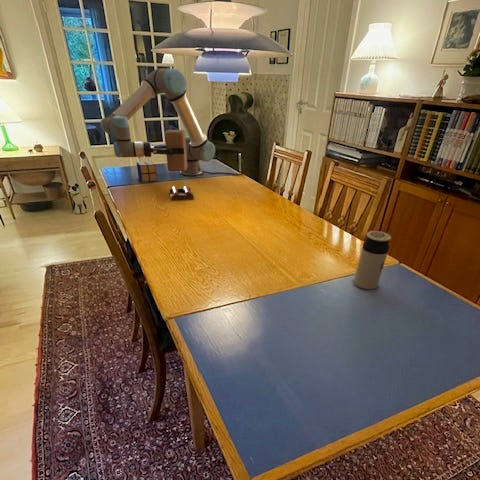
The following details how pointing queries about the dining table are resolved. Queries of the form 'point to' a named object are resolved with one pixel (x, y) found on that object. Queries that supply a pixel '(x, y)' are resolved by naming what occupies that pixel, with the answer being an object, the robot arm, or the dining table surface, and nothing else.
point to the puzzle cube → (147, 171)
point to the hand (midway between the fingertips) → (182, 148)
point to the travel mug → (372, 259)
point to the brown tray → (181, 193)
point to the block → (176, 141)
